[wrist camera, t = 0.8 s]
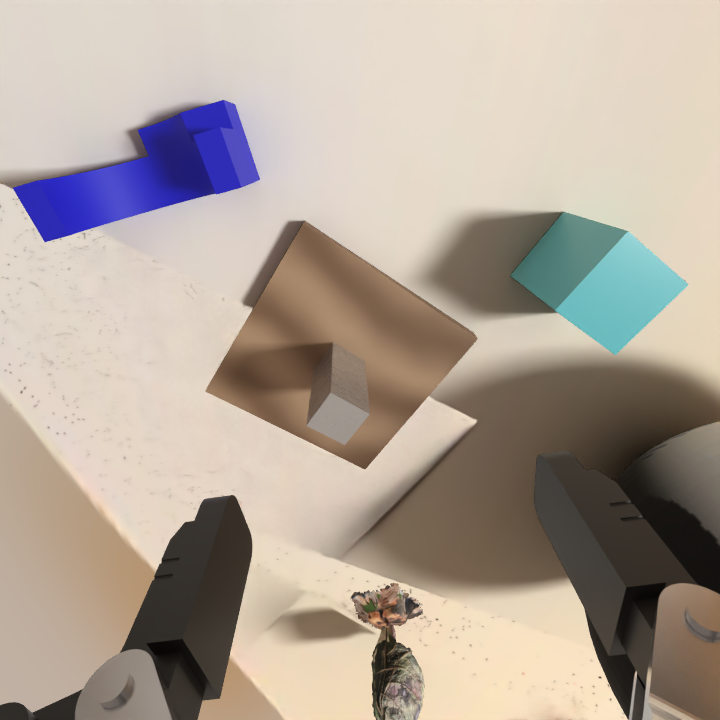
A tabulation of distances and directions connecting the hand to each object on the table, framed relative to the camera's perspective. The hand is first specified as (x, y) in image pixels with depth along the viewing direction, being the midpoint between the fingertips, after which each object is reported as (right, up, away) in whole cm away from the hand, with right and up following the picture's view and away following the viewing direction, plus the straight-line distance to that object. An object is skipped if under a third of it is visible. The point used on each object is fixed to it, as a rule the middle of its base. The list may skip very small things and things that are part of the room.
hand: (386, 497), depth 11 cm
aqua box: (+15, +11, +21) cm, 28 cm away
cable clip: (-14, +17, +17) cm, 28 cm away
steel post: (-2, +3, +23) cm, 23 cm away
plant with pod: (+3, -27, +40) cm, 48 cm away
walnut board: (-2, +4, +24) cm, 24 cm away
